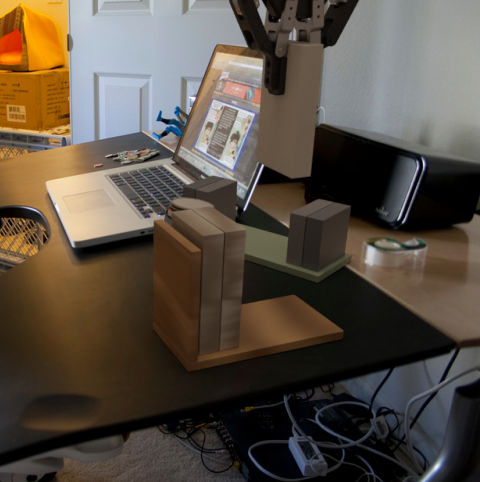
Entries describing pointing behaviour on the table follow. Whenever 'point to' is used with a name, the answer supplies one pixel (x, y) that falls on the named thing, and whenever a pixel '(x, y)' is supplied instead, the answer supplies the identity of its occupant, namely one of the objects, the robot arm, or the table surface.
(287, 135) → the brown tall flat block
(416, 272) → the table surface
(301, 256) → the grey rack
